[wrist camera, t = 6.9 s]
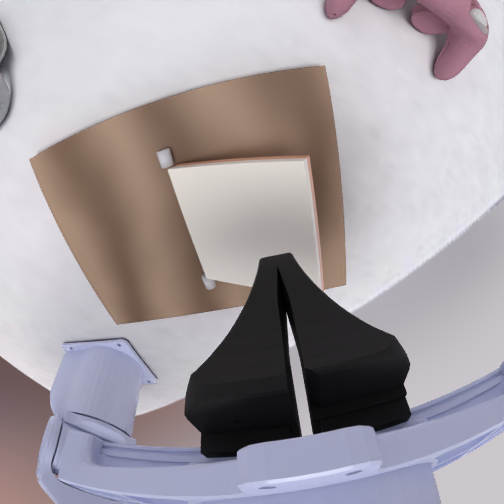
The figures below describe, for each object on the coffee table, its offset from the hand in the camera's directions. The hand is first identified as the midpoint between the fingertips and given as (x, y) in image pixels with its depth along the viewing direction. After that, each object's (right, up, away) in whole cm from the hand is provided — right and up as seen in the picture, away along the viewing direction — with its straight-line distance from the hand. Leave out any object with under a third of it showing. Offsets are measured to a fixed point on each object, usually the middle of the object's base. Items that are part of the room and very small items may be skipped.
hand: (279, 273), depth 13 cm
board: (-5, +4, +7) cm, 10 cm away
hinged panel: (-2, +2, +4) cm, 5 cm away
